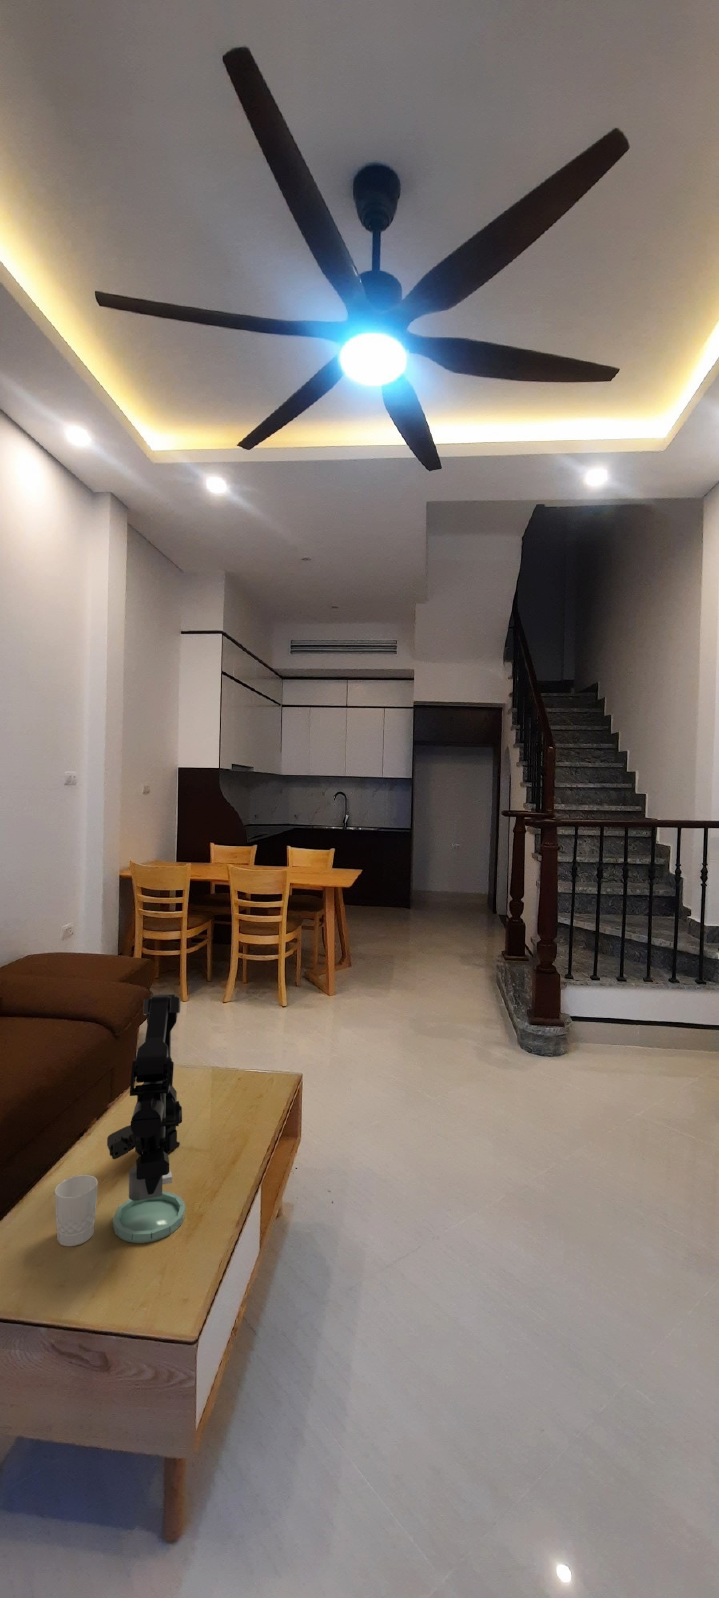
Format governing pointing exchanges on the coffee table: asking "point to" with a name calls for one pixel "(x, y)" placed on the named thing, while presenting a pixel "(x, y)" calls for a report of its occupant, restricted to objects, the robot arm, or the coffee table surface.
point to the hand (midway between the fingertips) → (150, 1187)
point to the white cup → (75, 1209)
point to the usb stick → (139, 1186)
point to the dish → (149, 1218)
